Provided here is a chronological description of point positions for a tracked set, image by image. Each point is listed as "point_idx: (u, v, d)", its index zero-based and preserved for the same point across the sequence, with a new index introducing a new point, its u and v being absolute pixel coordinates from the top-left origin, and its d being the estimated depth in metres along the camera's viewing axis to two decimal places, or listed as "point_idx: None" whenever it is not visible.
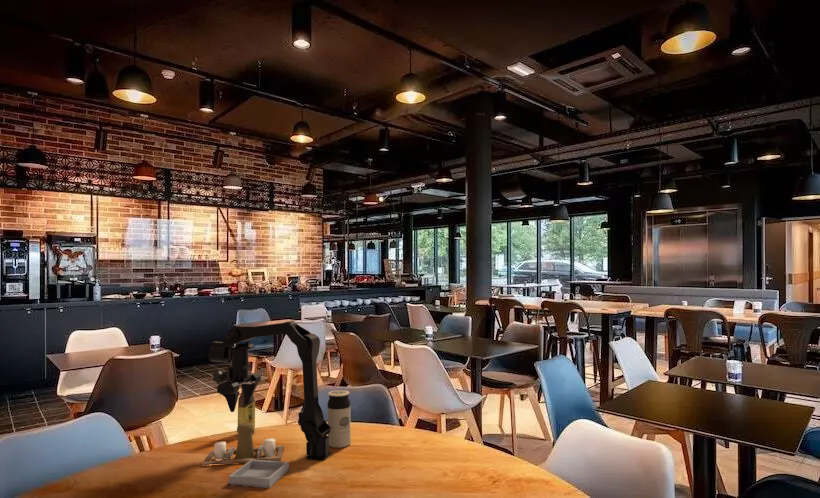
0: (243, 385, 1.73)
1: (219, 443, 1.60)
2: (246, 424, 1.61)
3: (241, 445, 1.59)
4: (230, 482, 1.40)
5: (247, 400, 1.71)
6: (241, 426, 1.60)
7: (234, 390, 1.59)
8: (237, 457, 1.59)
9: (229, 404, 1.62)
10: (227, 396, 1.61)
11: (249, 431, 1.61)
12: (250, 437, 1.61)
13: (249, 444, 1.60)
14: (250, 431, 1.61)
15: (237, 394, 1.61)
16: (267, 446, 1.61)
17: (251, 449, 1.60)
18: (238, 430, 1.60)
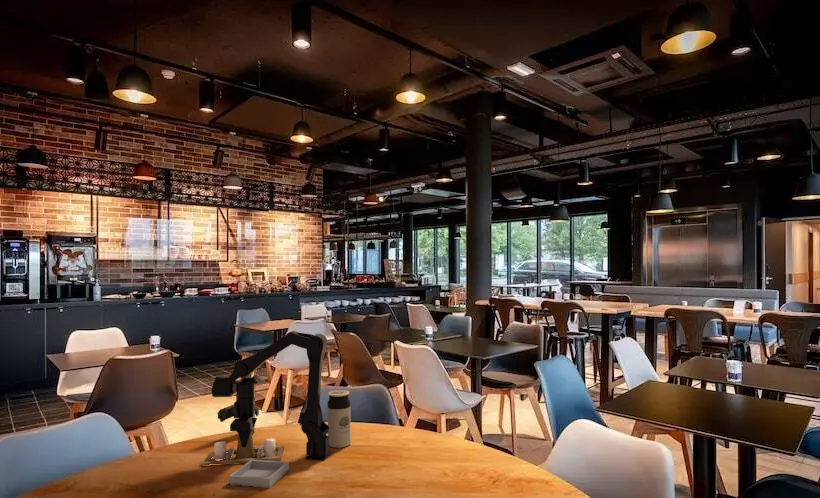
0: None
1: (219, 443, 1.60)
2: None
3: (241, 445, 1.59)
4: (230, 482, 1.40)
5: None
6: None
7: (250, 427, 1.54)
8: (237, 457, 1.59)
9: (242, 439, 1.58)
10: (240, 431, 1.58)
11: None
12: (250, 437, 1.61)
13: (249, 444, 1.60)
14: None
15: None
16: (267, 446, 1.61)
17: (251, 449, 1.60)
18: None
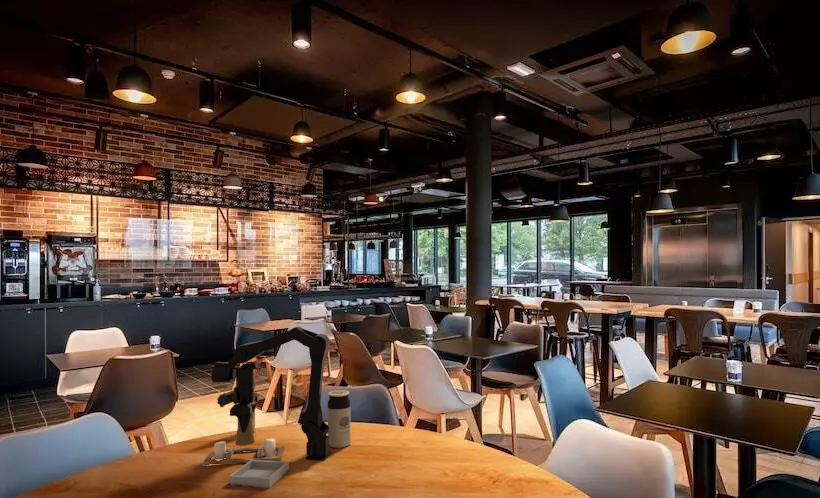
0: None
1: (219, 443, 1.60)
2: None
3: (241, 431, 1.60)
4: (230, 482, 1.40)
5: None
6: None
7: (250, 412, 1.55)
8: (237, 442, 1.59)
9: (241, 425, 1.59)
10: (240, 417, 1.58)
11: None
12: (250, 423, 1.61)
13: (249, 429, 1.61)
14: None
15: (251, 414, 1.59)
16: (267, 446, 1.61)
17: (251, 434, 1.61)
18: None
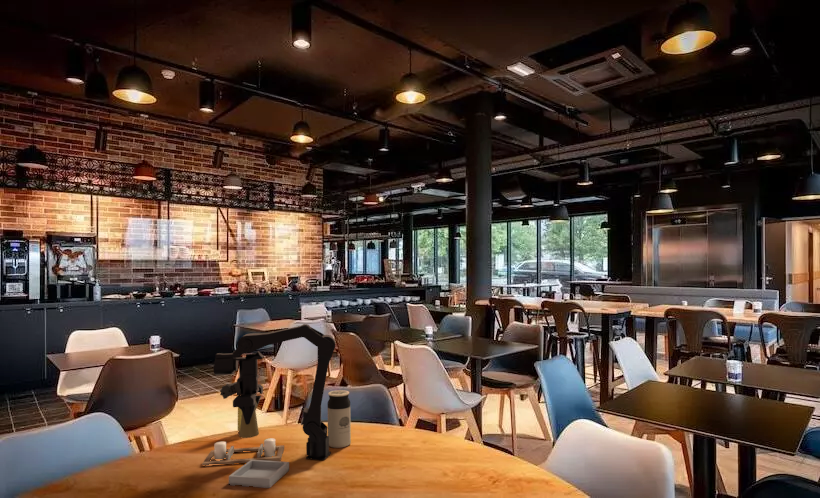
0: None
1: (219, 443, 1.60)
2: None
3: (244, 423, 1.56)
4: (230, 482, 1.40)
5: None
6: None
7: (253, 403, 1.51)
8: (241, 434, 1.56)
9: (245, 416, 1.55)
10: (243, 408, 1.54)
11: None
12: (254, 414, 1.57)
13: (253, 421, 1.57)
14: None
15: (255, 405, 1.55)
16: (267, 446, 1.61)
17: (254, 426, 1.57)
18: None
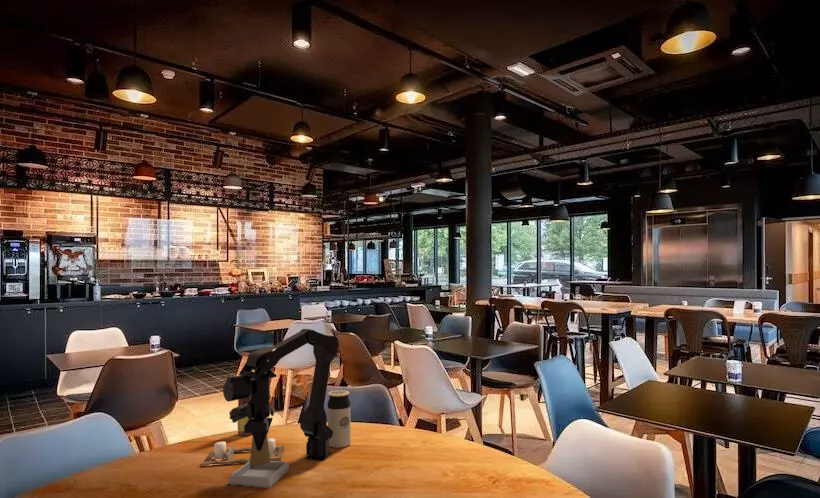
0: None
1: (219, 443, 1.60)
2: None
3: (255, 449, 1.43)
4: (230, 482, 1.40)
5: None
6: None
7: (266, 428, 1.38)
8: (251, 462, 1.43)
9: (257, 442, 1.42)
10: (255, 433, 1.42)
11: None
12: (265, 439, 1.45)
13: (264, 447, 1.44)
14: None
15: None
16: None
17: (266, 453, 1.44)
18: None
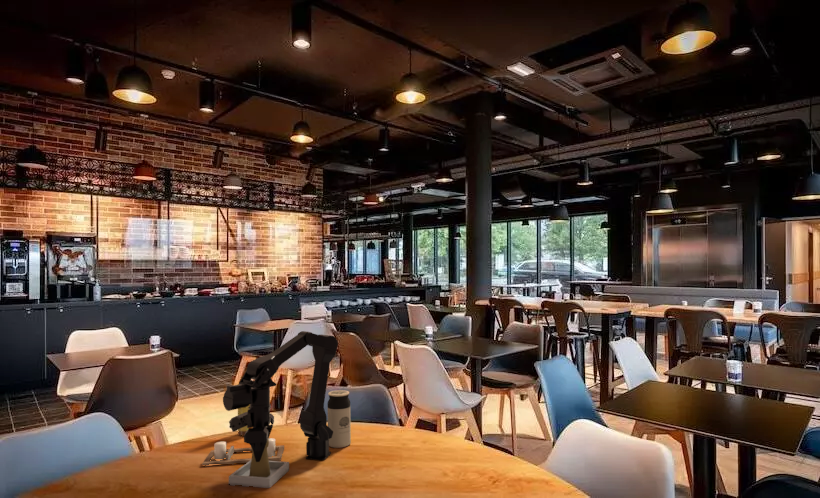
0: None
1: (219, 443, 1.60)
2: None
3: (255, 462, 1.43)
4: (230, 482, 1.40)
5: None
6: None
7: (266, 437, 1.38)
8: (251, 475, 1.43)
9: (255, 453, 1.40)
10: (254, 444, 1.40)
11: (265, 446, 1.44)
12: (265, 453, 1.45)
13: (264, 461, 1.44)
14: (266, 447, 1.44)
15: None
16: None
17: (266, 466, 1.44)
18: None
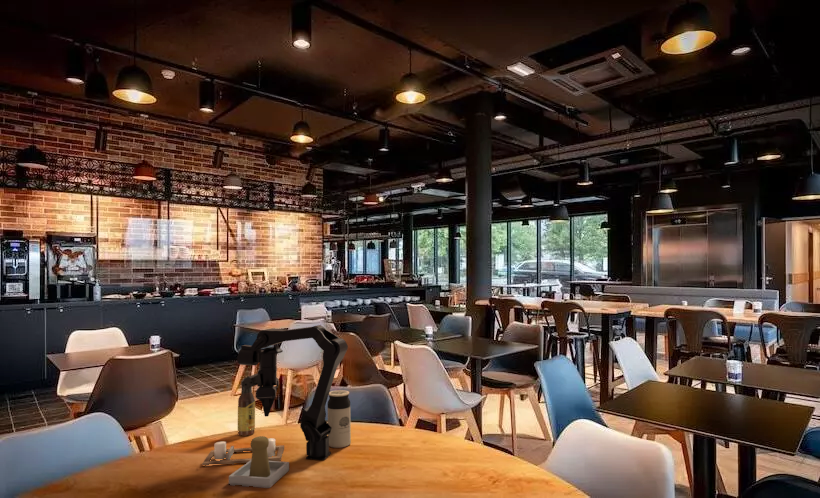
0: None
1: (219, 443, 1.60)
2: (261, 438, 1.44)
3: (255, 462, 1.43)
4: (230, 482, 1.40)
5: None
6: (255, 441, 1.43)
7: None
8: (251, 475, 1.43)
9: (265, 408, 1.61)
10: (263, 401, 1.61)
11: (265, 447, 1.44)
12: (265, 453, 1.45)
13: (264, 461, 1.44)
14: (266, 447, 1.44)
15: None
16: None
17: (266, 466, 1.44)
18: (252, 445, 1.43)
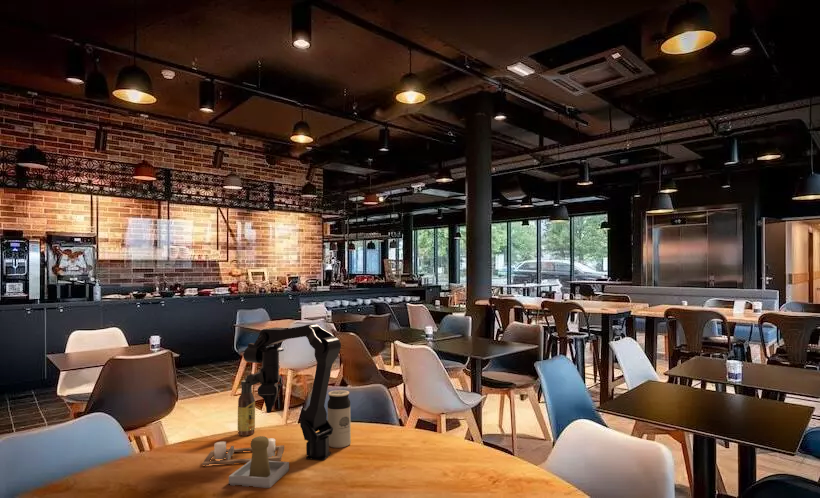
0: None
1: (219, 443, 1.60)
2: (261, 438, 1.44)
3: (255, 462, 1.43)
4: (230, 482, 1.40)
5: None
6: (255, 441, 1.43)
7: (276, 391, 1.64)
8: (251, 475, 1.43)
9: (267, 405, 1.66)
10: (265, 397, 1.65)
11: (265, 447, 1.44)
12: (265, 453, 1.45)
13: (264, 461, 1.44)
14: (266, 447, 1.44)
15: (276, 395, 1.66)
16: None
17: (266, 466, 1.44)
18: (252, 445, 1.43)
